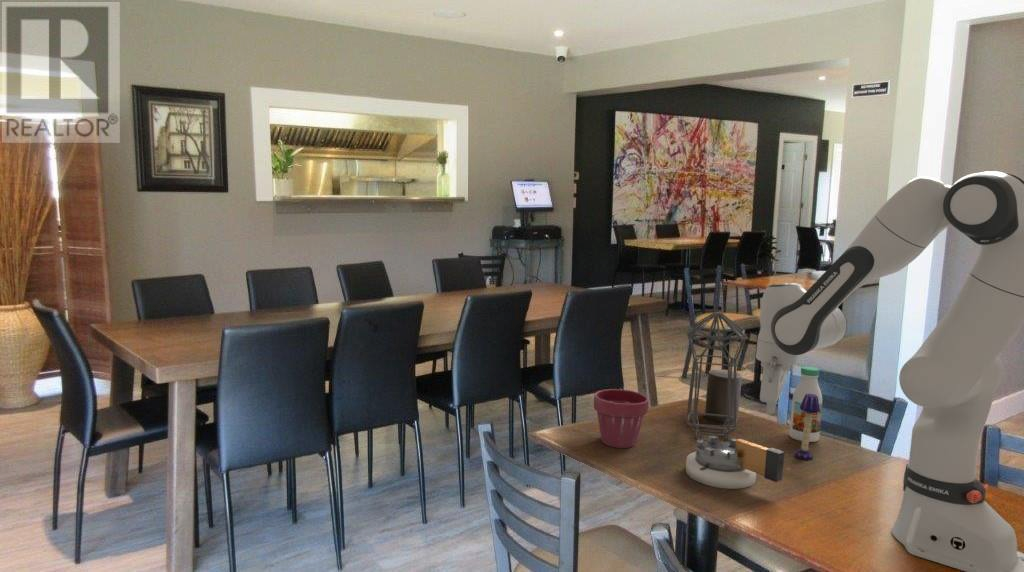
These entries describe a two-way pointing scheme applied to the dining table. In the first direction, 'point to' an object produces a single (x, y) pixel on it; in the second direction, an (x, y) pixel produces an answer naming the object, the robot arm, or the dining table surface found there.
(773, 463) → the lugged steel disc
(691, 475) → the white round plate
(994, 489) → the dining table surface
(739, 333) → the geometric lantern
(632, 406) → the plant pot
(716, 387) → the pillar candle
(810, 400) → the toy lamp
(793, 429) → the milk bottle
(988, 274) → the robot arm
